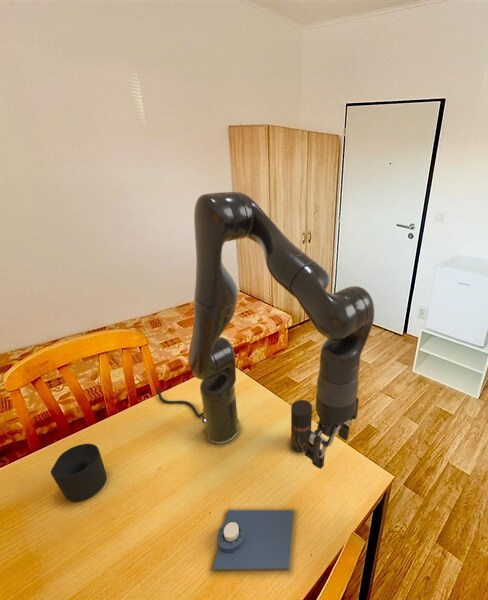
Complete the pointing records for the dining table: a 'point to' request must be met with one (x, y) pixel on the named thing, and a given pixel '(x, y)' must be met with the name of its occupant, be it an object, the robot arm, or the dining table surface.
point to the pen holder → (79, 472)
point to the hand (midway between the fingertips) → (331, 450)
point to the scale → (256, 541)
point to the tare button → (231, 531)
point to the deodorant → (300, 424)
